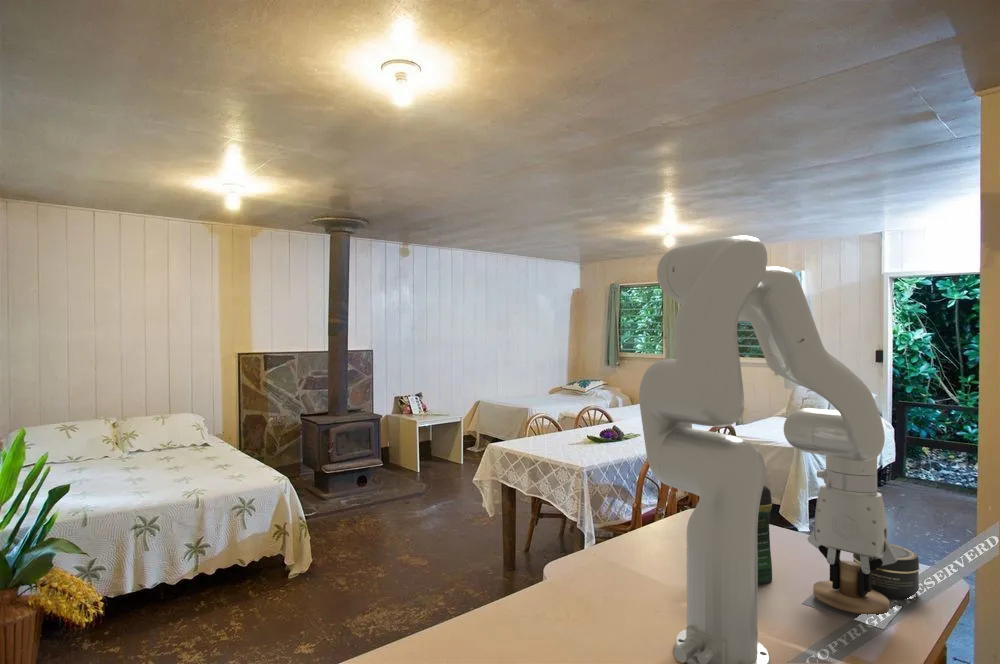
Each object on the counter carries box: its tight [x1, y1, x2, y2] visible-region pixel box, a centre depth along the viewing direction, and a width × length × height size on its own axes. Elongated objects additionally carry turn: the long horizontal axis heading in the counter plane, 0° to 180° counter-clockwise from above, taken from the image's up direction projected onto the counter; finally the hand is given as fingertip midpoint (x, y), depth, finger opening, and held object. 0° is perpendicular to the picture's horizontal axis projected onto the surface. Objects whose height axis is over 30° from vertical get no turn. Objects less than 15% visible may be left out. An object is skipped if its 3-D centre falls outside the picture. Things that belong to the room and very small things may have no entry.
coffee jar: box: [757, 485, 773, 586], centre depth 109 cm, size 10×8×19 cm
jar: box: [852, 543, 920, 601], centre depth 103 cm, size 10×10×8 cm
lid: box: [812, 559, 890, 615], centre depth 96 cm, size 11×11×6 cm
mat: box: [801, 593, 897, 631], centre depth 96 cm, size 12×12×1 cm
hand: (850, 589), depth 96 cm, fingers closed on lid, 3 cm apart
